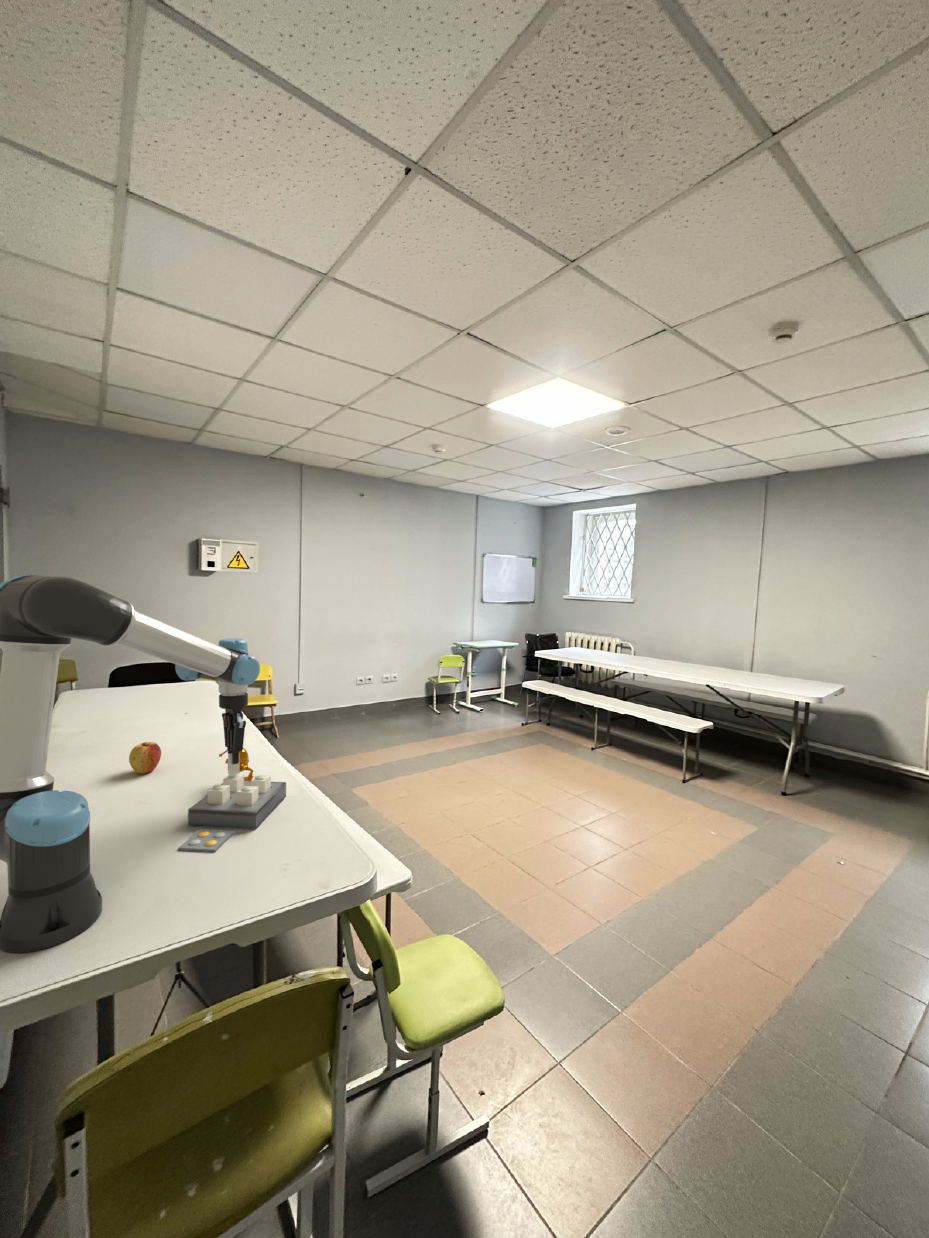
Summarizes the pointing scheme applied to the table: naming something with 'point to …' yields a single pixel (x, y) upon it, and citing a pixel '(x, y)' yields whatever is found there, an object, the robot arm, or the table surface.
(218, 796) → the button near left
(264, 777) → the button far right
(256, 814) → the button box
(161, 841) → the table surface
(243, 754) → the figurine
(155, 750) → the apple
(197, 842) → the card
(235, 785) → the button far left
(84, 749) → the table surface
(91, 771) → the table surface
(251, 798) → the button near right
